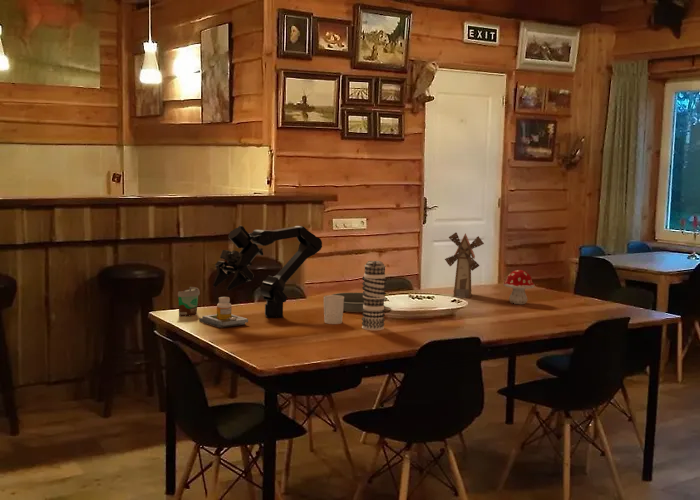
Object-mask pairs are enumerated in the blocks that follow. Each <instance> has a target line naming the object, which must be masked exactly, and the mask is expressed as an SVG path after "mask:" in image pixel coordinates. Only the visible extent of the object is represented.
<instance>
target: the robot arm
mask: <svg viewBox="0 0 700 500" xmlns="http://www.w3.org/2000/svg"><path fill="white" fill-rule="evenodd" d="M290 238H293V239H294V238H296V240H297V241H298V242H299V244H298V247H297V248H298V249H297V251H296V252H295V253H294V254H293V256H291V258H290V259H289V260H288V261H287V262H286V264H284V266H283V267H281V269H280V270H279V271H278V273H276V274H275V275H274V276H272V275H267V277H266V278H265V279H264V280H263V281H262V282H261V283H262V284H261V286H260V294H261V295H262V298H263V300H265V301H266V302H265V303H264V316H265V317H266V318H269V319H271V318H273V319H275V318H279V319H280V318H284V303H286V302H287V299H288V296H287V295H286V293H284V291H285V287H286V283H287V282H288V281H289V280H290V278H292V276H293V275H294V274H295V273H296V272H297V271H298V270H299V268H300V267H301V266H302V265H303V264H304V262H306V260H307V259H308V258H310V257H312V256H314V255H315V256H316V254H318V252H320V251H321V250H322V248H323V240H322V239H321V238H320V237H318V236H316V235H315V234H314V233H312V232H311V231H310V230H308V229H307V228H306V227H305V226H302V225H295V226H291V227H285V228H284V227H283V228H278V229H273V230H269V229H254V230H253V231H252V232H248V231H247V230H246V228H245V227H244V226H243V225H238V227H236V228H234V229H232V230H230V232H229V233H228V239H229V240H230V241H231V242H232V244H234V245H235V247H236V248H237V249H241V250H240V251H238V250H235V249H234V250H232V251H229V250H225V249H222V250H221V253H220V256H219V258H220V259H223V260H217V262H216V263H215V264H214V266H215V270H216V271H217V272H216V276H215V278H214V281H213V283H212V286H213V287H215V288H216V287H218V286H219V285H220V284H222V283H223V282H224V281H226V280H227V279H229V277H230V275H232V274H234V276H233V277H232V279H231V281H230V282H229V284H228V285H227V287H226V290H227V291H230V290H233V289H234V288H237V287H238V286H240V285H243V284H245V283H248V282H252V281H253V279H254V277H255V274H254V272H253V271H252V270H251V269H250V268H249V267H251V266H253V262H252V261H253V260H254V259H255V258H256V256H257V255H258V256H264V251H263V248H262V247H259V246H263V247H264V246H265V247H267V246H269V245H272V244H273V243H274V242H276V241H281V240H287V239H290ZM224 260H225V261H224ZM248 266H249V267H248Z"/></svg>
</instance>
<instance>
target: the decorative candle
mask: <svg viewBox="0 0 700 500" xmlns="http://www.w3.org/2000/svg"><path fill="white" fill-rule="evenodd" d="M363 266H364V273H363V276H362V277H361V279H362V290H363V291H362V292H361V293H362V294H363V297H364V304H363V309H362V311H363V312H361V315H362V316H363V317H362V318H361V320H362V321H361V325H362V326H361V329H363V330H366V331H383V330H384V329H385V322H386V321H385V319H386V318H385V312H386V310H385V301H384V298H386V296H385V295H386V294H387V293H386V292H385V291H386V290H387V288H386V287H385V286H387V285H388V284H387V281H388V279H387V278H386V265H385V264H384V262H382V261H379V260H369V261H367V262H366V263H365V264H364V265H363Z"/></svg>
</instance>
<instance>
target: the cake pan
mask: <svg viewBox="0 0 700 500" xmlns="http://www.w3.org/2000/svg"><path fill="white" fill-rule="evenodd" d="M362 293H363V292H338V293H333V294H331V295H339V296H343V297H344V307H343V312H350V313H364V312H363V311H362V309H363V304H364V297H363V294H362ZM386 301H387V298H386V297H385V298H384V302H386Z"/></svg>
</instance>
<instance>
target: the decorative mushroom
mask: <svg viewBox="0 0 700 500" xmlns="http://www.w3.org/2000/svg"><path fill="white" fill-rule="evenodd" d="M502 284H503V286H504V287H506V288H511V289H512V291H511V293H510V295H509V296H508V297H509V299H508V300H509V302H510V303H511V304H513V303H514V305H525V304H526V303H527V302H528V297H527V294H526V291H525V290H526V289H533V288H535V283H534V282H533V278H532V276H531V275H530V273H528V271H525V270H523V269H516V270H512V271H511V272H509V274H508V275H507V276H506V279H505V281H504V282H503V283H502Z"/></svg>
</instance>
